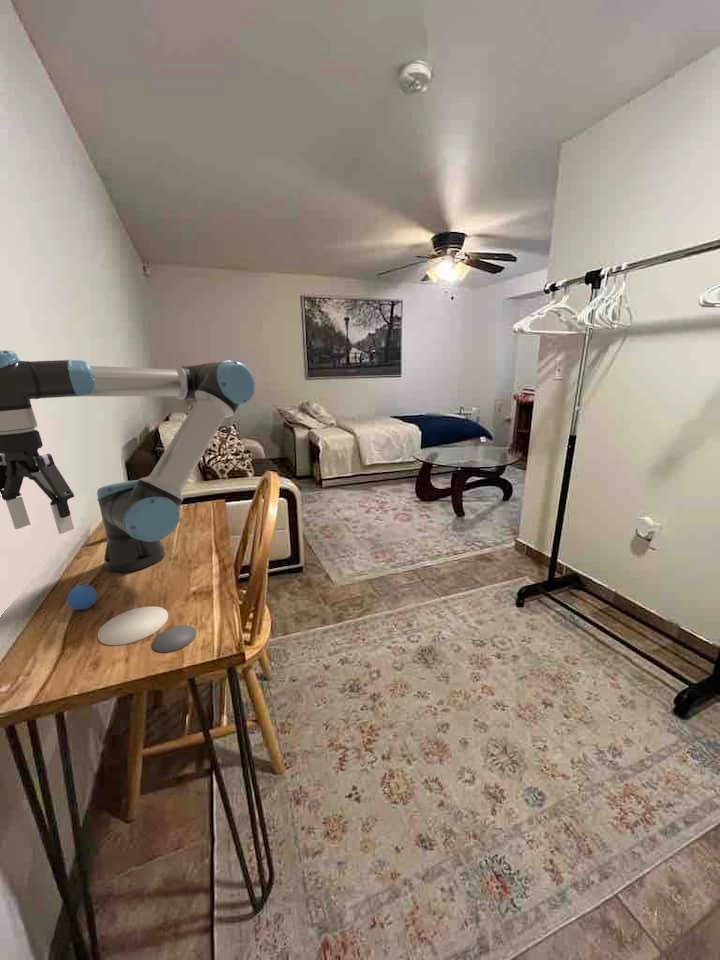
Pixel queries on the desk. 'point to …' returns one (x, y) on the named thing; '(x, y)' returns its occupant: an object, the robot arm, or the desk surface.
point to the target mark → (132, 625)
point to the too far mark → (174, 638)
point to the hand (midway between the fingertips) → (44, 529)
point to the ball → (82, 597)
